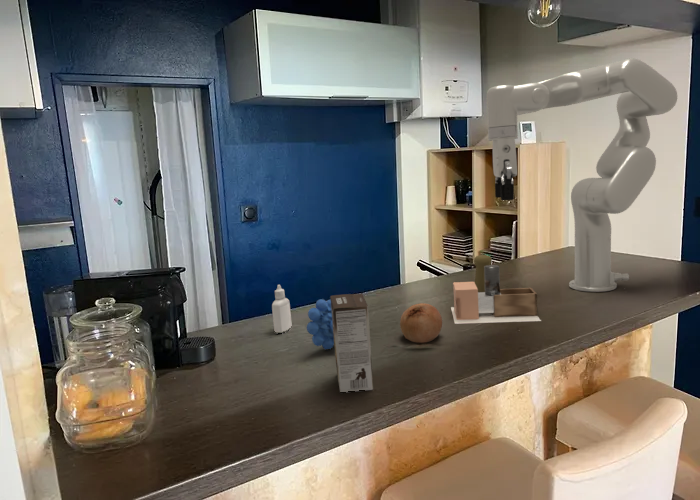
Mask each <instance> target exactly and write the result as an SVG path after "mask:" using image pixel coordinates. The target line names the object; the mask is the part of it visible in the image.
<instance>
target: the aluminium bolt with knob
mask: <svg viewBox="0 0 700 500" xmlns="http://www.w3.org/2000/svg"><path fill="white" fill-rule="evenodd" d="M484 276H485V292H478V309H479V313H495V310H494V295H501V293H500V289H501V283H500V281H501V280H500V279H501V278H500V266H499V265H497V264H491V265H487V266H484Z"/></svg>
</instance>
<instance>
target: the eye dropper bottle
mask: <svg viewBox="0 0 700 500" xmlns="http://www.w3.org/2000/svg"><path fill="white" fill-rule="evenodd" d="M274 298H275V300H274V301H272V304H271V310H272V320H273V322H272V323H273V329H274V331H275V332H283V331H286V330H288V329H289V328H291V326H292V327H293V324H292V315H291V314H292V313H291V304H290V300H289V299H288V298H287V297H286V295H285V289H284V288H282V286H281V284H277V288H276V290H274ZM291 329H292V328H291ZM275 332H274V333H275Z"/></svg>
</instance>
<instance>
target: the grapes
mask: <svg viewBox="0 0 700 500" xmlns="http://www.w3.org/2000/svg"><path fill="white" fill-rule="evenodd" d="M307 315H308V318H309V319H310V321H309V322H307V325H306V332H308V334H310V335H312V337H311V342H312V343H313V345H314V346H316V347H320V346H321V347H322V348H323V350H326V349H330V350H331V348H332V349H333V347H334V335H333V323H332V311H331V299H328V300H325V299H324V298H322V299H319V298H318V300H316V303H315V307H310V309H309V310H308V313H307Z"/></svg>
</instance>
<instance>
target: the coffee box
mask: <svg viewBox="0 0 700 500" xmlns="http://www.w3.org/2000/svg"><path fill="white" fill-rule="evenodd" d="M329 298H330V299H331V311H332V323H333V335H334V345H333V347H334V356H335V357H334V358H335V366H336V375H337V382H338V386H339V387H338V388H339V393H340V392H346V393H349V392H348V391H355V392H360V391H359V390H365V391H373V390H374V379H373V365H372V364H373V363H372V347H371V336H370V335H371V334H370V333H371V332H370V317H369V306H368V305H369V304H368V303H367V301H366V299H365V297H364V294H363V293H353V294H351V293H348V294H347V293H346V294H345V293H344V294H343V293H342V294H334V295H330V297H329ZM330 299H329V300H330Z"/></svg>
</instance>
